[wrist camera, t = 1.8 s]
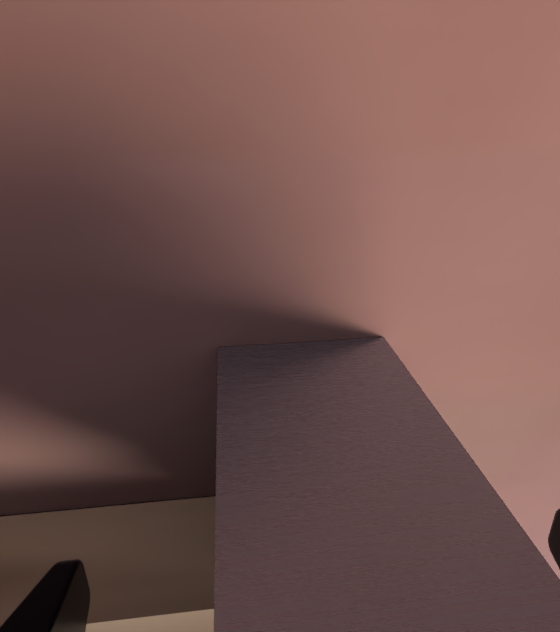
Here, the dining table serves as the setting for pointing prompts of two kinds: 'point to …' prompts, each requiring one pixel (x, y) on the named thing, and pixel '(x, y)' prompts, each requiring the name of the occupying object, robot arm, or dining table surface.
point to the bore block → (121, 562)
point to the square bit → (358, 504)
